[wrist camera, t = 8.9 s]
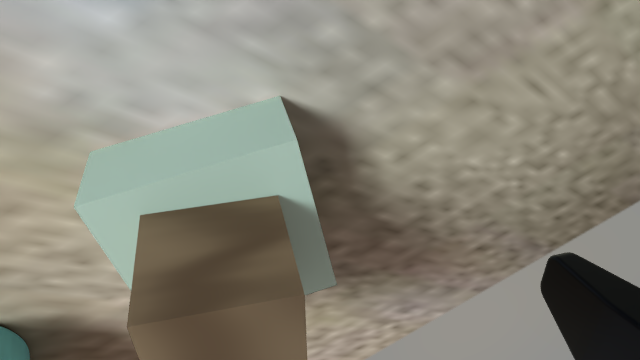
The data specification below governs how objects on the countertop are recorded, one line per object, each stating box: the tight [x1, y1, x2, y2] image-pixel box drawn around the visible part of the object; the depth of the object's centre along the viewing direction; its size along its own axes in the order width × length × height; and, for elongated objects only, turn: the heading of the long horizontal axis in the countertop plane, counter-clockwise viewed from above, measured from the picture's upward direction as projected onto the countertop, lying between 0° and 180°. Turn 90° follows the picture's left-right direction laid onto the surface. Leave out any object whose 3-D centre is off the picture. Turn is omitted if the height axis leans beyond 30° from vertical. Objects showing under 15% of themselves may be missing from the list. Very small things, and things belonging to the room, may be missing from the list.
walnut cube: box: [127, 195, 307, 360], centre depth 17 cm, size 5×5×5 cm
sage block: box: [74, 96, 337, 295], centre depth 21 cm, size 8×8×4 cm
